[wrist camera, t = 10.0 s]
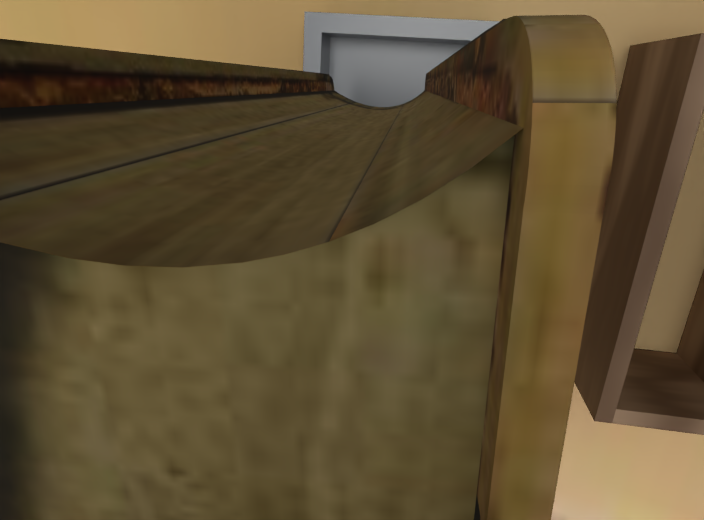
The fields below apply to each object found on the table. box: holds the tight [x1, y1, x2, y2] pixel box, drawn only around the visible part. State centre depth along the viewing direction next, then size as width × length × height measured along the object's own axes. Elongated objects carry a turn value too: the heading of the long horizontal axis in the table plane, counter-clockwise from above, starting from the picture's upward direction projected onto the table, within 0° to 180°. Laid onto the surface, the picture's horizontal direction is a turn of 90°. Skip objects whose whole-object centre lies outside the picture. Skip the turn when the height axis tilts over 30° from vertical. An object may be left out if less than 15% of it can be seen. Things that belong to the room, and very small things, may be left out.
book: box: [0, 15, 617, 520], centre depth 17 cm, size 16×6×25 cm, turn 0°
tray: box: [303, 12, 498, 107], centre depth 33 cm, size 11×22×4 cm, turn 176°
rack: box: [574, 33, 704, 435], centre depth 29 cm, size 9×21×8 cm, turn 176°
